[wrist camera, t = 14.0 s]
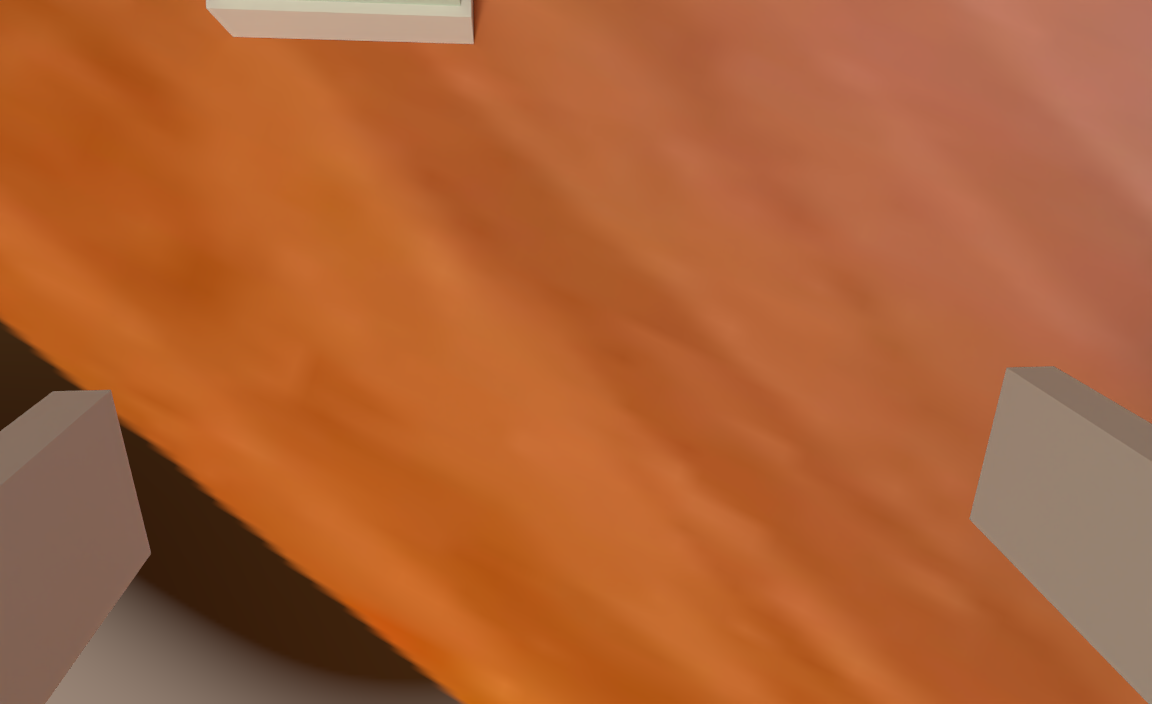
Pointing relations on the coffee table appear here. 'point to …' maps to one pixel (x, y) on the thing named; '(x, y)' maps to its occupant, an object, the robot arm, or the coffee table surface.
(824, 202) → the coffee table surface
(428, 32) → the tower base
